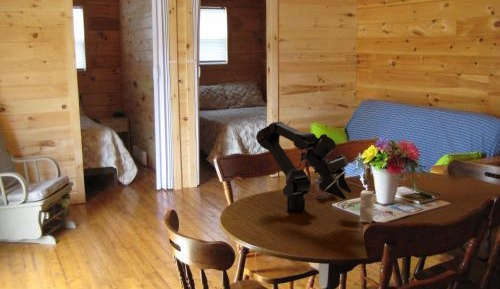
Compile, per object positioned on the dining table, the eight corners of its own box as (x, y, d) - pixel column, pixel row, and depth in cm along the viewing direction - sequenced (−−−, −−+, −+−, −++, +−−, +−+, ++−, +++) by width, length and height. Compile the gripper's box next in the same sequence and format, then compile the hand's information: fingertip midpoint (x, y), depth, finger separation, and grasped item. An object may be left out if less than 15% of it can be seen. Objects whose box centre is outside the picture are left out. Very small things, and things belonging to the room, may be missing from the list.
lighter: (316, 199, 222) (316, 175, 220) (313, 196, 225) (313, 173, 224) (334, 197, 224) (334, 174, 223) (330, 195, 228) (331, 172, 226)
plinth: (363, 216, 199) (364, 213, 199) (366, 211, 205) (366, 209, 205) (380, 217, 197) (380, 215, 197) (382, 213, 203) (382, 210, 203)
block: (359, 222, 190) (360, 193, 188) (361, 219, 194) (362, 190, 192) (370, 224, 189) (372, 194, 187) (372, 220, 192) (374, 191, 191)
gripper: (328, 153, 183) (359, 188, 181) (340, 144, 200) (369, 175, 198) (306, 174, 187) (336, 207, 185) (319, 163, 204) (347, 194, 202)
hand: (348, 195), depth 192 cm, fingers open, 9 cm apart
